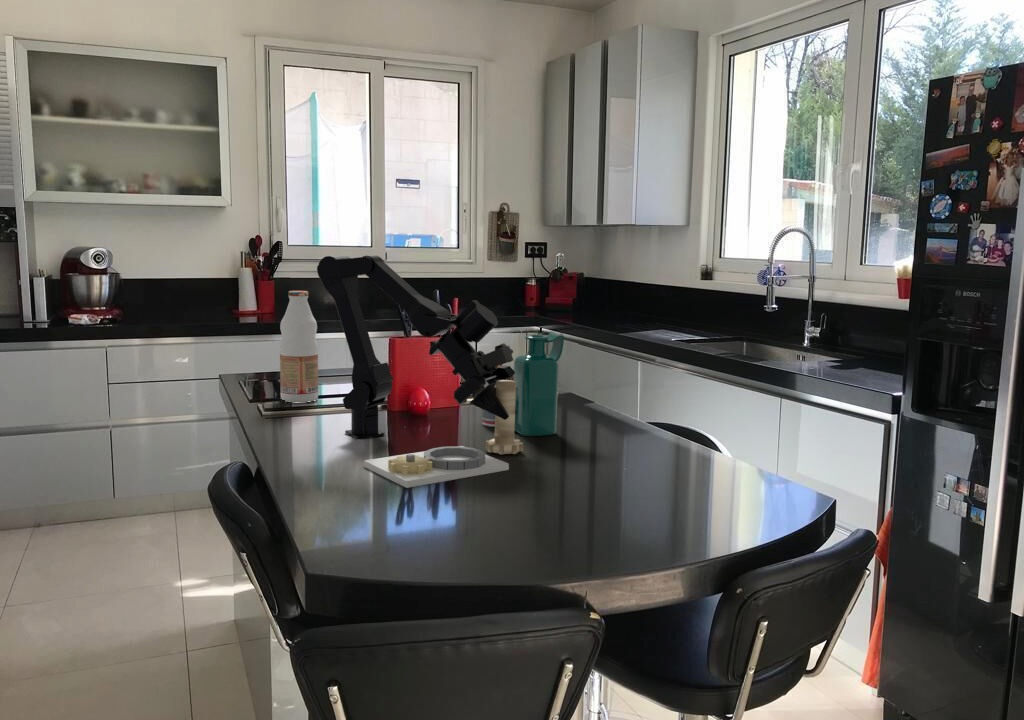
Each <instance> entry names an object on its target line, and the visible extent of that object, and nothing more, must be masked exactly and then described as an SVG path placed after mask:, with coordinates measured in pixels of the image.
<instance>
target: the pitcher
mask: <svg viewBox="0 0 1024 720" xmlns="http://www.w3.org/2000/svg"><path fill="white" fill-rule="evenodd" d="M524 339H525V340H527V341H528V348H527V349H528V350H527V352H526V354H522V355H521V354H520V355H519V356H517V357H515V358H514V360H513V371H514V372H515V374H514V381H516V401H515V408H516V410H517V414H516V415H515V432H516V433H517V434H519V435H521V436H524V437H538V436H539V437H543V436H544V437H546V436H552V435H555V434H556V433H557V415H558V389H559V387H558V386H559V385H558V383H559V382H558V381H559V363H558V361H559V360H560V358H561V356H562V353H563V349H564V343H565V336H564V335H562V334H558V333H555V332H551V333H550V332H549V333H548V334H547V335H543V334H527V335H525V336H524ZM545 343H552V347H551V349H550V352H549V354H548V355H547V354H546V352H545V349H546V348H545Z"/></svg>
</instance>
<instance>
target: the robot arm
mask: <svg viewBox="0 0 1024 720" xmlns="http://www.w3.org/2000/svg"><path fill="white" fill-rule="evenodd" d="M316 272H317V275H318V279H319V280H320V282H321V284H322V286H323V288H324V290H326V292H327V293H328V294H329V295H330V296H331V297H332V299H333V301H334V304H335V307H336V310H337V313H338V317H339V319H340V322H341V323H340V324H341V326H342V330H343V333H344V336H345V339H346V343H347V347H348V349H349V353H350V356H351V360H352V364H353V366H352V373H351V383H352V389H351V390H350V391H349V392H348V393H347V394H346V395H345V396H344V397H343V398H342V403H343V406H344V409H346V410H350V411H351V412H350V413H351V424H350V425H351V429H347V430H344V433H345V434H347V435H349V436H352V437H353V438H356V439H365V438H372V437H380V436H386V435H385V432H384V431H381V430H379V405H384V404H385V401H386V399H387V397H388V396H389V395H390V393H391V391H392V389H393V383H392V381H394V378H393V377H392V375H391V371H390V366H389V363H388V362H387V361H386V362H382V363H381V362H380V360H379V359H378V357H376V354H375V351H374V348H373V345H372V341H371V337H370V335H369V331H368V328H367V325H366V321H365V318H364V315H363V312H362V308H361V305H360V302H359V298H358V294H357V291H358V285H359V276H364V275H365V276H366V277H368V278H369V279H370V280H371V282H373V283H374V284H375V285H376V286H377V287H379V288H380V289H381V291H383V292H384V293H385V294H386V295H387V296H388V297H389V298H390V299H391V300H393V301H394V302H395V303H396V304H397V305H398V306H399V307H400V308H402V310H403V311H404V312H405V314H406V315H407V318H408V320H409V323H410V324H411V325H412V326H413V327H414V328H415V330H416V331H417V333H418V334H419V335H421V336H423V337H426V338H430V337H435V336H439V335H441V336H440V337H439V339H437V340H433V341H430V342H429V345H430V346H429V351H428V354H429V355H430V356H433V355H437V354H440V353H441V355H442V356H443V357H444V358H445V359H446V361H447V362H448V363H449V364H450V365H451V366H452V368H453V370H452V371H451V373H452V374H453V375H454V376H458V374H459V375H460V376H461V378H462V379H463V380H464V381H465V382H464V383H463V384H462V383H460V385H459V386H458V387H457V388H456V389H455V390H454V391H453V399H454V401H456V403H457V404H458V405H459V406H462V405H464V404H466V403H467V402H468V398H470V396H471V397H472V400H471V401H469V402H468V403H469V405H471V406H472V405H473V406H475V407H477V408H479V409H482V410H483V409H484V410H486V411H488V412H490V413H492V414H494V415H496V416H498V417H500V418H502V419H504V420H506V419H507V418H508V417H509V415H508V413H507V412H506V410H505V408H504V407H503V405H502V404H501V402H500V401H499V399H498V398H497V396H496V381H498V380H510V378H511V377H512V376H513V375H514V374H515V372H514V368H512V367H511V366H510V365H504V364H507V363H511V362H514V358H513V353H514V350H513V348H511V347H510V345H507V344H506V343H504V342H503V343H500V344H498V345H496V346H494V350H492V351H490V352H487V353H485V352H484V351H482V350H479V351H478V350H476V349H475V348H474V347H473V345H471V343H480V341H482V340H483V338H485V336H487V335H488V334H489V333H490V332H491V331H492V330H493V329H494V328H495V327H496V326H497V325H498V324H499V319H498V318H497V316H496V315H495V313H494V312H493V311H492V310H490V309H488V308H487V307H486V306H485V305H483V304H482V303H480V302H479V301H478V300H472V301H470V302H469V304H468V305H467V306H466V308H465V309H464V310H463V311H462V312H461V313H460V314H454V313H451V312H450V311H449V310H448V309H447V308H445V307H443V306H442V305H440V304H439V303H438V302H435V301H433V300H432V299H429V298H427V297H425V296H423V295H422V294H420V293H419V292H418V291H417V290H416V289H415V288H414V287H412V286H411V285H410V284H409V283H408V282H406V280H405V279H403V278H402V277H401V276H400V275H399V274H398V273H397V272H396V271H394V269H392V268H391V267H390V266H389V265H388V264H387V263H386V262H384V259H383V258H382V257H381V256H380V255H377V254H374V255H373V254H371V255H370V254H369V255H367V254H366V255H364V256H360V257H349V256H348V255H326V256H323V257H322V258H321V259H320V261H319V263H318V264H317V266H316ZM453 328H454V329H453ZM450 329H453V330H452V331H451V332H448V331H449V330H450ZM498 365H502V366H501V367H498V368H497V367H496V366H498ZM516 414H517V410H516V408H515V415H516Z"/></svg>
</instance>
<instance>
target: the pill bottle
mask: <svg viewBox="0 0 1024 720" xmlns="http://www.w3.org/2000/svg"><path fill="white" fill-rule="evenodd" d="M482 425H483V426H486V427H494V428H495V415H494V414H492V413H490V412H488V411H486V410H484V409H482Z"/></svg>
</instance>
